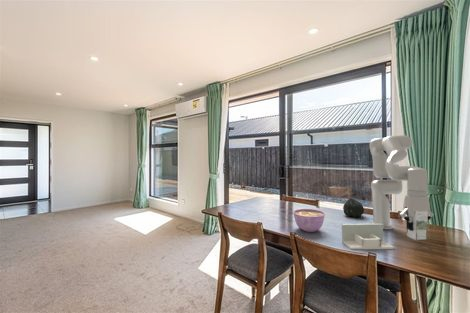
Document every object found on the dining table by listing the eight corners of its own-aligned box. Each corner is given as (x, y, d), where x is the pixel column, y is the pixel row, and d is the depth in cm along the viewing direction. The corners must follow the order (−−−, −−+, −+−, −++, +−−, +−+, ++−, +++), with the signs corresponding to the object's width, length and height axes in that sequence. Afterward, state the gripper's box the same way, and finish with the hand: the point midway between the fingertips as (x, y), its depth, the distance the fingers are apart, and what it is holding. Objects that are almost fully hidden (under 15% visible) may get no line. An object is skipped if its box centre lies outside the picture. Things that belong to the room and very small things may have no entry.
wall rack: (342, 241, 128) (341, 224, 127) (381, 241, 127) (381, 223, 127) (351, 249, 117) (350, 230, 117) (394, 249, 116) (393, 230, 116)
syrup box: (417, 235, 113) (417, 207, 112) (427, 240, 107) (427, 210, 106) (406, 235, 113) (406, 207, 112) (416, 240, 107) (416, 211, 106)
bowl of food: (297, 223, 161) (296, 207, 161) (326, 227, 152) (326, 210, 152) (290, 232, 143) (289, 214, 143) (323, 237, 134) (323, 218, 134)
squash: (367, 208, 178) (353, 193, 183) (367, 213, 165) (352, 197, 170) (353, 218, 184) (339, 203, 189) (352, 224, 171) (337, 208, 176)
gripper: (428, 191, 112) (428, 226, 113) (393, 192, 113) (393, 227, 114) (441, 194, 105) (441, 232, 106) (404, 195, 106) (404, 232, 106)
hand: (416, 229), depth 110 cm, fingers closed on syrup box, 5 cm apart
